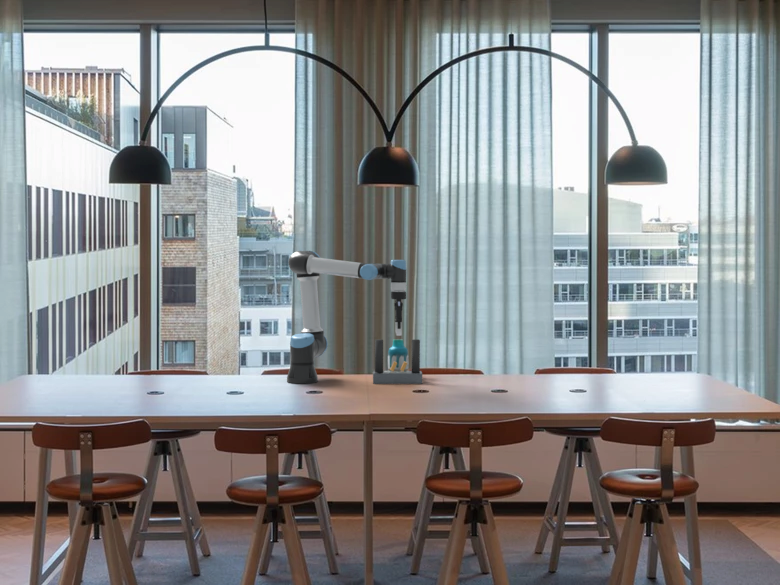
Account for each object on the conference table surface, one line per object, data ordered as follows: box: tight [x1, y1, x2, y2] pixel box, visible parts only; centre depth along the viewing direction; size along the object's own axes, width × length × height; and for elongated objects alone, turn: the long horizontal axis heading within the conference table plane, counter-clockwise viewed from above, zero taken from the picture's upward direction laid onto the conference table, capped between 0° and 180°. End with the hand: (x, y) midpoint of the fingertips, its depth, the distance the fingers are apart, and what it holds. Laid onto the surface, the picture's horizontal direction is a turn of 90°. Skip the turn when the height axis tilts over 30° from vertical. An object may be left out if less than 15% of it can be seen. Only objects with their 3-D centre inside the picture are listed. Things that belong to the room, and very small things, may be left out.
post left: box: [374, 339, 384, 373], centre depth 467 cm, size 4×4×16 cm
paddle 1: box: [390, 361, 397, 371], centre depth 467 cm, size 2×3×4 cm, turn 2°
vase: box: [387, 338, 409, 371], centre depth 487 cm, size 11×11×19 cm
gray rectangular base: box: [372, 370, 423, 385], centre depth 467 cm, size 24×10×5 cm, turn 91°
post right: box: [411, 338, 421, 373], centre depth 467 cm, size 4×4×16 cm
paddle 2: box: [400, 361, 407, 371], centre depth 467 cm, size 2×3×4 cm, turn 2°
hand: (398, 334), depth 466 cm, fingers open, 13 cm apart
